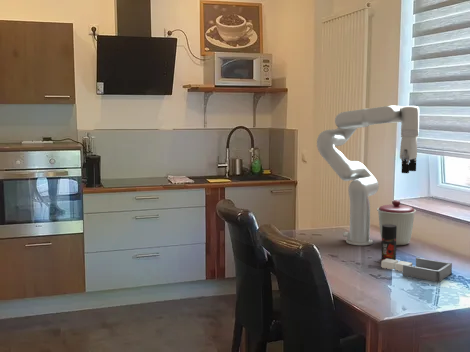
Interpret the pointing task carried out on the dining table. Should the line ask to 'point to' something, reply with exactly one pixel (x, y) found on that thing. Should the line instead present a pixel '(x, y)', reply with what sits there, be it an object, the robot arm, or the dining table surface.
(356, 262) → the dining table surface
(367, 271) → the dining table surface
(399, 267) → the tile front
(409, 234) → the canister
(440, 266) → the grey u-shaped bracket
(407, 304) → the dining table surface
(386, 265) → the tile back
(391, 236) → the deodorant
